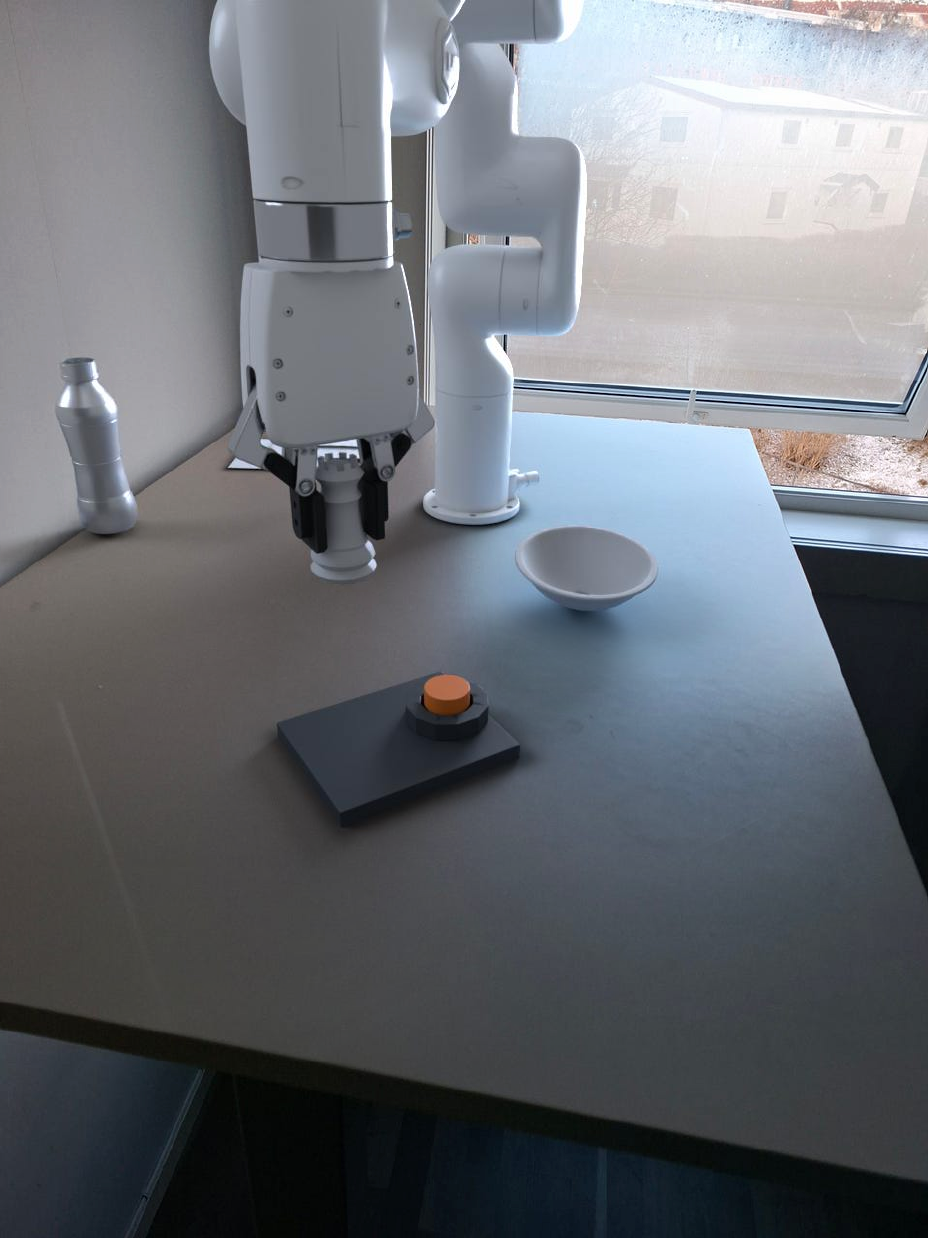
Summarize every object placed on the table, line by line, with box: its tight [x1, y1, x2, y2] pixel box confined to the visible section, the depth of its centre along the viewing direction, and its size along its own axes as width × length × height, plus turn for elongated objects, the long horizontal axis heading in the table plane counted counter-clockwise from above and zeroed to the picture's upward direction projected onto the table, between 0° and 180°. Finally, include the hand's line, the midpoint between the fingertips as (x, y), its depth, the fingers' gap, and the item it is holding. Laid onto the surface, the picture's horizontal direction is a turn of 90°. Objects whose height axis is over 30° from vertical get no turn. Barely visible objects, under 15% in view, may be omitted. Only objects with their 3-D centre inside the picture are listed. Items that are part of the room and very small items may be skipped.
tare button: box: [424, 674, 470, 715], centre depth 66 cm, size 4×4×2 cm
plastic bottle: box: [54, 356, 138, 535], centre depth 97 cm, size 6×7×20 cm
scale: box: [276, 671, 521, 828], centre depth 65 cm, size 15×12×3 cm
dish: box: [514, 524, 659, 612], centre depth 86 cm, size 18×14×5 cm
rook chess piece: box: [310, 452, 377, 586], centre depth 55 cm, size 4×4×8 cm
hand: (342, 536), depth 56 cm, fingers closed on rook chess piece, 3 cm apart
